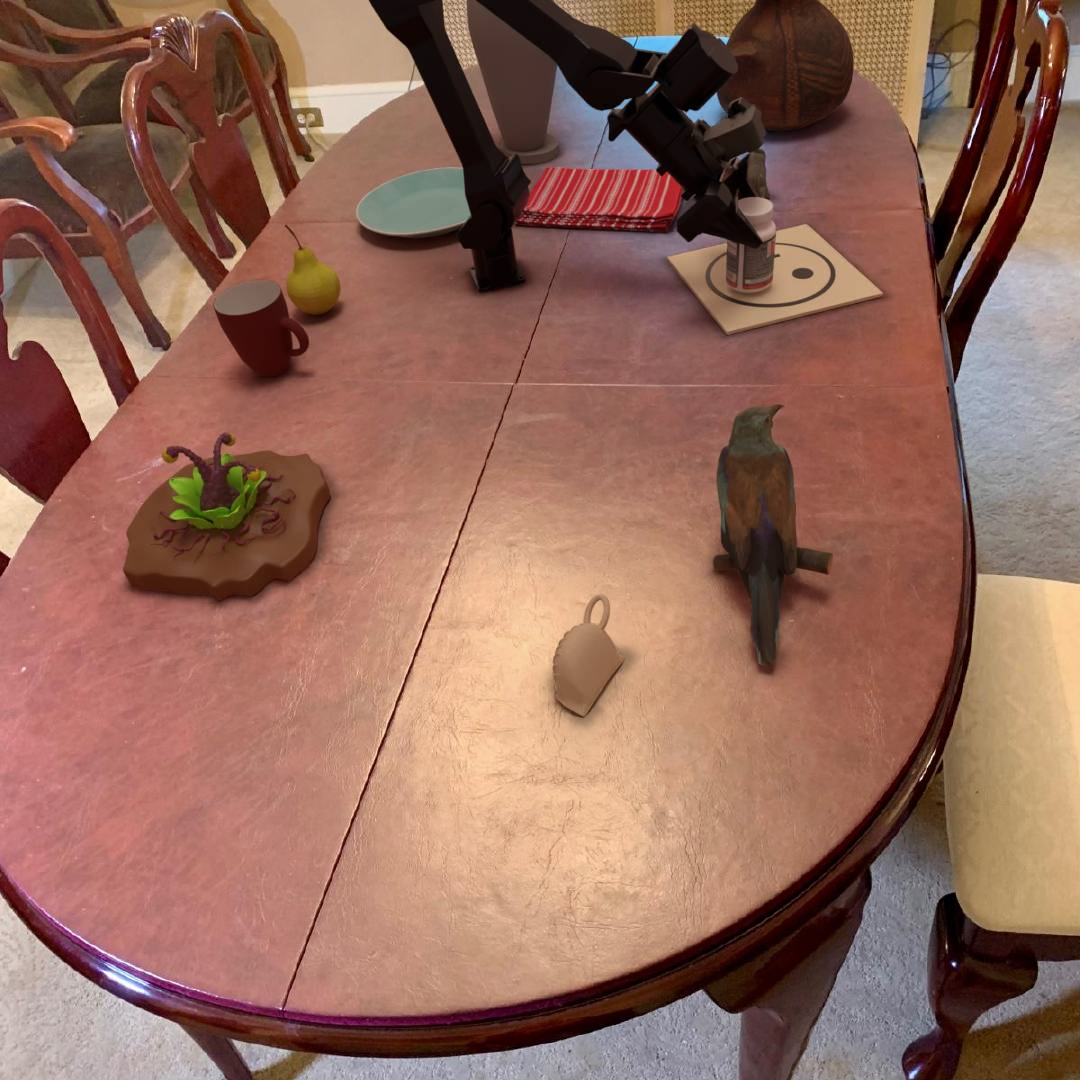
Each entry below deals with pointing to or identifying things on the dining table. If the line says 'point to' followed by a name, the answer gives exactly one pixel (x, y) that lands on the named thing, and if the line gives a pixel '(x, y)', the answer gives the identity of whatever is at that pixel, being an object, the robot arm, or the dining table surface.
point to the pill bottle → (753, 249)
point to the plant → (227, 523)
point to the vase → (515, 85)
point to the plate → (416, 204)
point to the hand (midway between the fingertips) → (763, 233)
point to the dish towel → (603, 199)
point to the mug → (260, 326)
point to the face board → (776, 282)
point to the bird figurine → (761, 522)
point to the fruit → (312, 282)
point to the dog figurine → (758, 173)
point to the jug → (789, 63)
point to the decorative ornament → (585, 661)
